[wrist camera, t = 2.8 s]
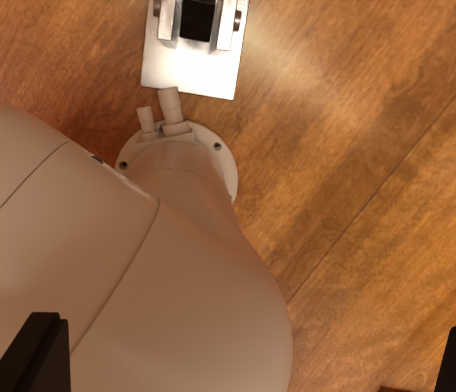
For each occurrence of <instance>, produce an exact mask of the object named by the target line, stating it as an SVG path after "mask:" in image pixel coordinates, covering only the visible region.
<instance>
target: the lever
mask: <svg viewBox="0 0 456 392" xmlns="http://www.w3.org/2000/svg"><path fill="white" fill-rule="evenodd" d="M215 6H216V0H182V10H181V19H180V29H179V37H180V38H185V39H190V40H196V41H202V42H207V43H209V42H210V38H211V31H212V25H213V19H214V13H215Z"/></svg>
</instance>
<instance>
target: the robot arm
mask: <svg viewBox="0 0 456 392" xmlns="http://www.w3.org/2000/svg"><path fill="white" fill-rule="evenodd" d="M157 95H158V99H159V103H160V107H161V110H162V112H163V116H164V120H161V121H157V122H154V121H153V119H154V118H153V114H152V110H151V106H150V105H148V106H143V107H139V108H136V111H137V115H138V119H139V122H140V124H141V128H142V129H140V130H139V131H138V132H136V133H135V134H134V135H133V136H132V137H131V138H130V139H129V140H128V141H127V142H126V144H125V145H124V146H123V148H122V149H121V151H120V154H119V156H118V158H117V160H116V164H115V169H113V168H112V167H110V166H109V165H108V164H106V163H105V162H103V161H102V160H101V159H99V158H98V157H96V156H95V155H93V154H92V153H90V152H88V151H87V150H86V149H84V148H83V147H81V146H80V145H78V144H77V143H75V142H74V141H73V140H71V139H70V138H68V137H67V136H65V135H64V134H62V133H61V132H59V131H58V130H56V129H55V128H53V127H52V126H50V125H49V124H47V123H45V122H44V121H42V120H40V119H39V118H37V117H35V116H34V115H32V114H30V113H28V112H26V111H24V110H22V109H20V108H17V107H15V106H12V105H10V104H6V103H2V102H0V392H287V389H288V385H289V380H290V375H291V369H292V357H293V339H292V330H291V322H290V318H289V314H288V310H287V307H286V304H285V301H284V298H283V296H282V293H281V291H280V289H279V286H278V284H277V282H276V280H275V278H274V277H273V275H272V273H271V272H270V270H269V269H268V267H267V265H266V264H265V263H264V261H263V260H262V258H261V257H260V256H259V254H258V253H257V252H256V250H255V249H254V248H253V246H252V245H251V243H250V242H249V241H248V239H247V238H246V237H245V235H244V234H243V233H242V231H241V229H240V227H239V224H238V221H237V218H236V215H235V212H234V208H233V202H234V200H235V197H236V193H237V188H238V173H237V167H236V163H235V160H234V158H233V155H232V153H231V151H230V149H229V148H228V146H227V145H226V144H225V142H224V141H223V140H222V139H221V137H219V136H218V135H217V134H216V133H215V132H214V131H212V130H211V129H209V128H207V127H206V126H204V125H202V124H200V123H197V122H194V121H191V120H185V119H183V115H182V111H181V103H180V98H179V93H178V89H177V86H176V87H170V88H165V89H161V90H157ZM215 143H219V147H215V146H214V144H215ZM122 162H126V163H127V166H123V165H122ZM434 392H456V326H455V327H452V328H451V330H450V333H449V336H448V340H447V344H446V348H445V352H444V355H443V359H442V363H441V367H440V371H439V375H438V378H437V382H436V386H435V390H434Z"/></svg>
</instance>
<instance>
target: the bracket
mask: <svg viewBox="0 0 456 392" xmlns="http://www.w3.org/2000/svg"><path fill="white" fill-rule="evenodd" d="M249 2H250V0H216V6H215V13H214V19H213V25H212V31H211V38H210V42H209V43H207V42H202V41H196V40H190V39H185V38H180V37H179V29H180V19H181V10H182V0H148V7H147V17H146V27H145V37H144V47H143V57H142V67H141V77H140V86H143V87H150V88H156V89H165V88H170V87H176V86H177V89H178V92H181V93H187V94H194V95H200V96H206V97H212V98H219V99H225V100H231V101H233V100H234V95H235V89H236V83H237V76H238V70H239V64H240V58H241V52H242V45H243V39H244V33H245V27H246V20H247V14H248V8H249Z"/></svg>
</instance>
